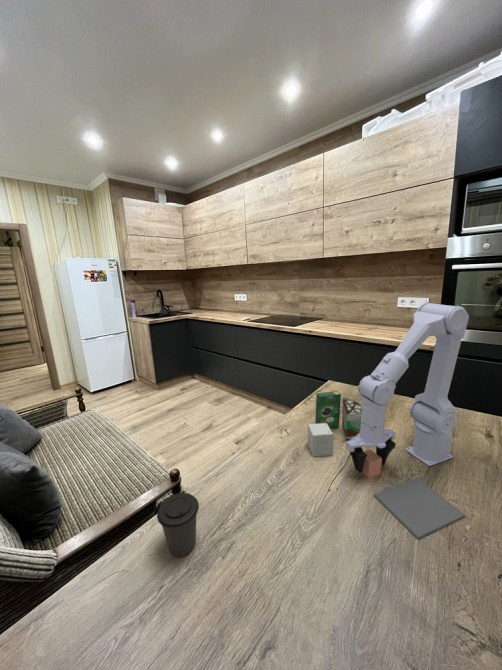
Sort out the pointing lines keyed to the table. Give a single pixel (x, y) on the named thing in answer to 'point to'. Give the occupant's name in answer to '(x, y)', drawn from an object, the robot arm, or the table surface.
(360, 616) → the table surface
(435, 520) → the mat
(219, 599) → the table surface
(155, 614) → the table surface
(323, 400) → the coffee box
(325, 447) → the product box
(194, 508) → the coffee cup
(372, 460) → the block
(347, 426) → the food container
